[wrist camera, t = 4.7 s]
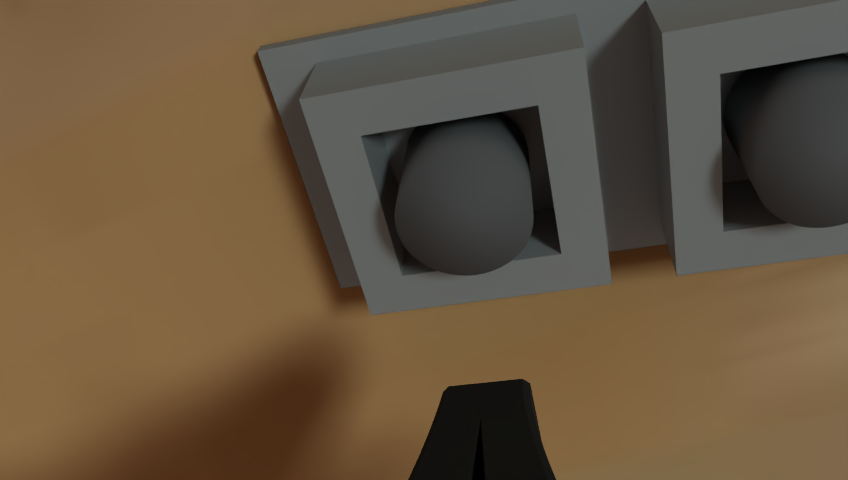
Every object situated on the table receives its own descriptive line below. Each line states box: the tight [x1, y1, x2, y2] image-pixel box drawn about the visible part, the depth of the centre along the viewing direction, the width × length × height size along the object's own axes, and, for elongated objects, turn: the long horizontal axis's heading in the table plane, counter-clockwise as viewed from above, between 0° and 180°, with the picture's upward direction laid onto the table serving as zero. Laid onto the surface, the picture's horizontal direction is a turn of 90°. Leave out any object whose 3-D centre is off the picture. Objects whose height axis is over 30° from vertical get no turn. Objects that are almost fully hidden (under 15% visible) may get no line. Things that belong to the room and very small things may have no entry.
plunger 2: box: [724, 53, 848, 228], centre depth 16 cm, size 3×3×2 cm
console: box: [257, 0, 848, 315], centre depth 17 cm, size 15×7×2 cm, turn 103°
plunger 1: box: [394, 112, 534, 276], centre depth 17 cm, size 3×3×2 cm
